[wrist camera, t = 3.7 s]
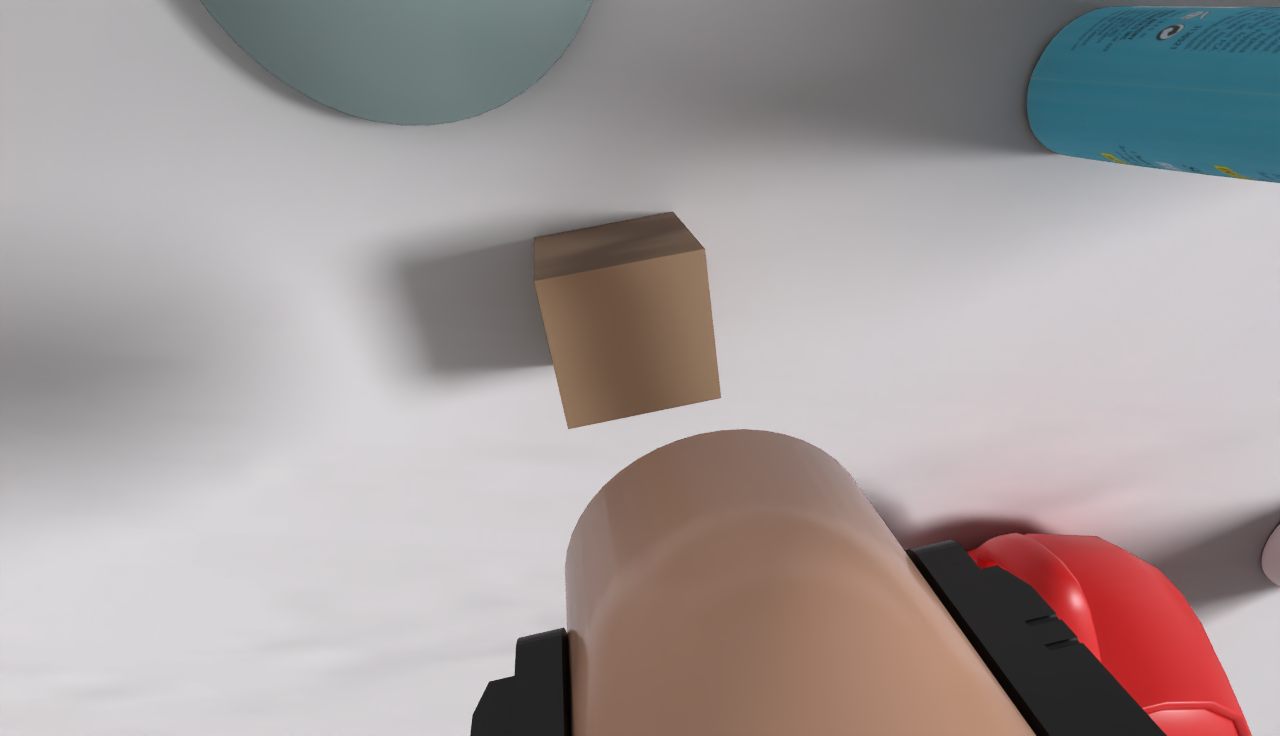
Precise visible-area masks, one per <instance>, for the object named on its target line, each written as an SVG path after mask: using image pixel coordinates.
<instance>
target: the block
mask: <svg viewBox="0 0 1280 736" xmlns="http://www.w3.org/2000/svg"><path fill="white" fill-rule="evenodd" d="M534 283H535V288H536V292H537V296H538V301H539V305H540V309H541V314H542V318H543V322H544V326H545V331H546V335H547V339H548V344H549V348H550V352H551V357H552V361H553V365H554V370H555V374H556V378H557V382H558V387H559V391H560V395H561V400H562V404H563V408H564V413H565V417H566V421H567V426H568V429H571V428H576V427H581V426H586V425H591V424H596V423H601V422H606V421H610V420H615V419H620V418H625V417H630V416H635V415H640V414H645V413H650V412H655V411H659V410H664V409H669V408H674V407H679V406H684V405H689V404H694V403H699V402H704V401H708V400H713V399H718V398H721V394H720V385H719V375H718V366H717V357H716V348H715V338H714V329H713V320H712V311H711V301H710V292H709V283H708V274H707V265H706V255H705V248H704V247H703V246H702V245H701V244H700V243H699V242H698V240H697V239H696V238H695V237H694V236H693V235H692V233H691V232H690V231H689V230H688V229H687V228H686V226H685V225H684V224H683V223H682V222H681V221H680V219H679V218H678V217H677V216H676V215H675V214H674V212H670V213H664V214H659V215H653V216H648V217H643V218H637V219H632V220H626V221H621V222H616V223H610V224H605V225H599V226H594V227H589V228H583V229H578V230H572V231H567V232H562V233H556V234H551V235H545V236H540V237H535V238H534Z"/></svg>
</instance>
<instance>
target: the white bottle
mask: <svg viewBox="0 0 1280 736" xmlns="http://www.w3.org/2000/svg"><path fill="white" fill-rule="evenodd" d="M1262 568H1263V571H1264V573H1265V575H1266V576H1267V577H1268V578H1269V579H1270V580H1271V581H1272V582H1273V583H1275V584H1276V585H1277V586H1279V587H1280V524H1279V525H1278V526H1277V528H1276V529H1275V530H1274V531H1273V533H1272V534H1271V536H1270V537H1269V539H1268V541H1267V543H1266V545H1265V547H1264V550H1263V554H1262Z"/></svg>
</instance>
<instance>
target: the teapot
mask: <svg viewBox="0 0 1280 736" xmlns="http://www.w3.org/2000/svg"><path fill="white" fill-rule="evenodd" d="M967 553H968V554H969V556H970V557H971V558H972V559H973V560H974V562H975V563H976V564H977V565H978V566H979V568H980V569H982V568H987V567H991V566H995V565H998V566H1000V567H1001V568H1003V569H1005V570H1006V571H1008V572H1010V573H1011V574H1013V575H1014V576H1016V577H1018V578H1019V579H1021V580H1023V581H1024V582H1026V583H1028V584H1029V585H1031V586H1032V587H1033V588H1034V589H1035V590H1036V591H1037V593H1038V594H1039V595H1040V596H1041V597H1042V598H1043V599H1044V600H1045V601H1046V603H1047V604H1048V605H1049V606H1050V607H1051V608H1052V609H1053V610H1054V611H1055V612H1056V615H1057V617H1058V619H1059V620H1060V619H1062V620H1063V621H1064V622H1065V624H1066V625H1067V626H1068V627H1069V628H1070V629H1071V630H1072V631H1073V632H1074V633H1075V635H1076V636H1077V638H1078V641H1079V642H1080V643H1084V645H1085V646H1086V647H1087V648H1088V649H1089V650H1090V651H1091V652H1092V653H1093V654H1094V656H1095V657H1096V658H1097V659H1098V660H1099V661H1100V662H1101V663H1102V664H1103V666H1104V667H1105V668H1106V669H1107V670H1108V671H1109V672H1110V673H1111V674H1112V675H1113V677H1114V678H1115V679H1116V680H1117V681H1118V682H1119V683H1120V684H1121V685H1122V687H1123V688H1124V689H1125V690H1126V691H1127V692H1128V693H1129V694H1130V695H1131V697H1132V698H1133V699H1134V700H1135V701H1136V702H1137V703H1138V704H1139V705H1140V706H1141V708H1142V709H1143V710H1144V711H1145V712H1146V713H1147V714H1148V715H1149V716H1150V718H1151V719H1152V720H1153V721H1154V722H1155V723H1156V724H1157V725H1158V726H1159V727H1160V729H1161V730H1162V731H1163V732H1164V733H1165V734H1166V735H1167V736H1252V735H1251V732H1250V730H1249V727H1248V725H1247V722H1246V720H1245V717H1244V715H1243V713H1242V710H1241V708H1240V706H1239V703H1238V701H1237V699H1236V696H1235V694H1234V692H1233V690H1232V687H1231V685H1230V683H1229V680H1228V678H1227V675H1226V673H1225V671H1224V669H1223V667H1222V665H1221V663H1220V661H1219V659H1218V657H1217V655H1216V653H1215V651H1214V649H1213V647H1212V645H1211V643H1210V641H1209V638H1208V636H1207V634H1206V632H1205V630H1204V628H1203V626H1202V624H1201V622H1200V620H1199V619H1198V617H1197V616H1196V614H1195V613H1194V611H1193V610H1192V608H1191V607H1190V605H1189V604H1188V602H1187V601H1186V599H1185V598H1184V596H1183V595H1182V593H1181V592H1180V591H1179V590H1178V589H1177V588H1176V587H1175V586H1174V585H1173V584H1172V582H1171V581H1170V580H1169V579H1168V578H1167V577H1166V576H1165V575H1164V574H1163V573H1162V572H1161V571H1160V570H1159V569H1158V568H1156V567H1154V566H1152V565H1150V564H1149V563H1147V562H1145V561H1143V560H1141V559H1140V558H1138V557H1136V556H1134V555H1132V554H1131V553H1129V552H1127V551H1125V550H1123V549H1122V548H1120V547H1118V546H1116V545H1114V544H1112V543H1109V542H1107V541H1105V540H1103V539H1101V538H1099V537H1097V536H1078V535H1055V534H1025V535H1022V534H1019V533H1012V534H1006V535H1000V536H997V537H994V538H992V539H989V540H987V541H986V542H985V543H983V544H982V545H981V546H980V547H978V548H977V549H973V550H970V551H968V552H967Z"/></svg>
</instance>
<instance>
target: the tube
mask: <svg viewBox="0 0 1280 736" xmlns="http://www.w3.org/2000/svg"><path fill="white" fill-rule="evenodd" d="M1027 113H1028V120H1029V124H1030V127H1031V129H1032V131H1033V133H1034V135H1035V137H1036V138H1037V139H1038V140H1039V141H1040V142H1041V143H1042V144H1043V145H1044V146H1045V147H1046V148H1048V149H1050V150H1052V151H1053V152H1055V153H1059V154H1062V155H1067V156H1073V157H1079V158H1086V159H1093V160H1100V161H1107V162H1114V163H1121V164H1128V165H1135V166H1143V167H1151V168H1158V169H1166V170H1173V171H1182V172H1190V173H1198V174H1206V175H1214V176H1223V177H1232V178H1240V179H1248V180H1257V181H1267V182H1276V183H1280V8H1277V7H1234V6H1119V7H1105V8H1100V9H1096V10H1093V11H1090V12H1088V13H1086V14H1084V15H1081V16H1080V17H1078V18H1077V19H1075V20H1074V21H1072V22H1071V23H1069V24H1068V25H1066V26H1065V27H1064V28H1063V29H1062V30H1061V31H1060V32H1059V33H1058V34H1057V35H1056V36H1055V37H1054V38H1053V39H1052V41H1051V42H1050V43H1049V45H1048V46H1047V47H1046V49H1045V50H1044V52H1043V53H1042V55H1041V57H1040V59H1039V61H1038V63H1037V65H1036V67H1035V69H1034V71H1033V73H1032V76H1031V78H1030V82H1029V87H1028V93H1027Z"/></svg>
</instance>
